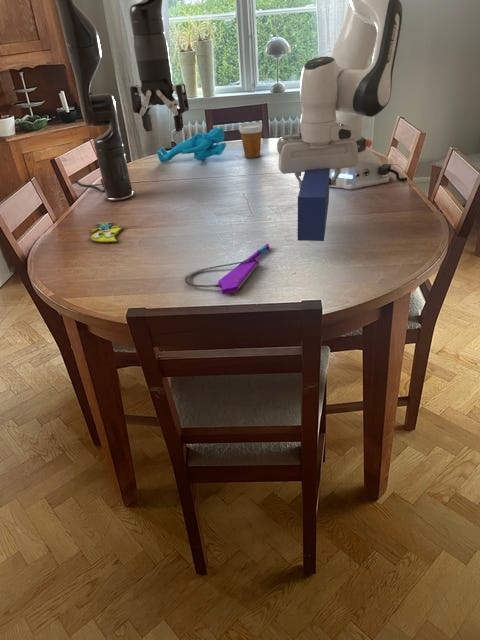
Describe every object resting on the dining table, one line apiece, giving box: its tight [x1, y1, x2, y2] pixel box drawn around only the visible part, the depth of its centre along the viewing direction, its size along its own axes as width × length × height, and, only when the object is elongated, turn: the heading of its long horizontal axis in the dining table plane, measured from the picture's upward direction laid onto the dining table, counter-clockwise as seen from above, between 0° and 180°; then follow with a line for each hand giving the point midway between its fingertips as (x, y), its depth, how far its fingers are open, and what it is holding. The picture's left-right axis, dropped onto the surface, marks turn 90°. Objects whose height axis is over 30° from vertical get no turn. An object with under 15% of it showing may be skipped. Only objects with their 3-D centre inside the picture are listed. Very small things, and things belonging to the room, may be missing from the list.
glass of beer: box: [239, 123, 263, 159], centre depth 199 cm, size 10×10×12 cm
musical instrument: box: [184, 243, 270, 295], centre depth 114 cm, size 24×2×20 cm
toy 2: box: [156, 127, 227, 163], centre depth 201 cm, size 17×11×30 cm
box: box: [297, 168, 330, 242], centre depth 119 cm, size 26×6×10 cm, turn 169°
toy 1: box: [90, 221, 124, 244], centre depth 141 cm, size 10×1×15 cm
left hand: (164, 131), depth 119 cm, fingers open, 8 cm apart
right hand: (317, 186), depth 127 cm, fingers closed on box, 7 cm apart
